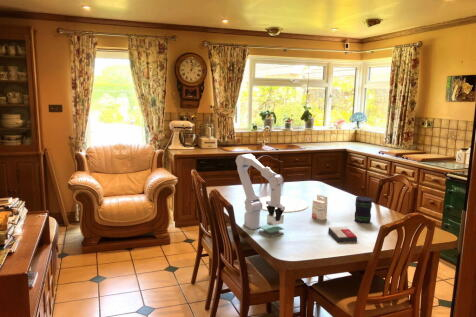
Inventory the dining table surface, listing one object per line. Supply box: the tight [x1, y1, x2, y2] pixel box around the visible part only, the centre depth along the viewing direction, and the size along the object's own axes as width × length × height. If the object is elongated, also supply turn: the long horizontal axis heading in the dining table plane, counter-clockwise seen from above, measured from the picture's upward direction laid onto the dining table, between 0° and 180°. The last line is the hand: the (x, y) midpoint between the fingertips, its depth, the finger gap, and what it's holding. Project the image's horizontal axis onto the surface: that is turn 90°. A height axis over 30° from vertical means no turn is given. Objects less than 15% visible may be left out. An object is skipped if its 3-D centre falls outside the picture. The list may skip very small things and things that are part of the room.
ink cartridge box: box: [311, 194, 328, 221], centre depth 249 cm, size 9×5×15 cm, turn 44°
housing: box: [266, 212, 285, 226], centre depth 220 cm, size 5×10×5 cm, turn 124°
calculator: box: [328, 226, 358, 244], centre depth 216 cm, size 11×4×15 cm
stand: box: [258, 224, 285, 238], centre depth 221 cm, size 10×10×4 cm
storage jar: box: [353, 196, 373, 225], centre depth 244 cm, size 10×10×15 cm
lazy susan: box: [259, 195, 309, 213], centre depth 280 cm, size 40×39×3 cm
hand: (274, 219), depth 220 cm, fingers closed on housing, 5 cm apart
